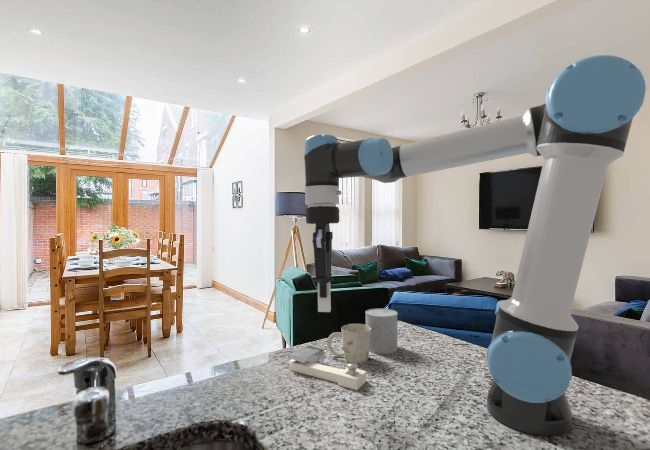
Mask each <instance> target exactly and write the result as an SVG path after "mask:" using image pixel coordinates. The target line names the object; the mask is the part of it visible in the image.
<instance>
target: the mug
mask: <svg viewBox="0 0 650 450" xmlns="http://www.w3.org/2000/svg"><path fill="white" fill-rule="evenodd" d="M340 330H341V332H339V331H337V332H335V331H334V332H331V334H329V336H328V338H327V339H326V340H327V341H326V346H327V349H328V351H329V352H330V353H331V354H332V355H334V356H336V357H344V360H345V361H346V362H347V363H349V362H355V363H357V364H361V363H366V362H368V361H369V354H370V352H369V347H370V338H371V327H370V326H368V325H366V324H363V323H348V324H345V325H343V326H341V329H340ZM335 338H342V339H341V340H342V347H343V352H336V351H335V350H334V348H333V346H332V342H333V340H334V339H335Z"/></svg>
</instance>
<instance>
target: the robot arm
mask: <svg viewBox="0 0 650 450" xmlns="http://www.w3.org/2000/svg"><path fill="white" fill-rule="evenodd" d="M646 87H647V86H646V80H645V77H644V76H643V73H642V72H641V70H640V68H638V67H637V66H636V65H635V64H634V63H632V62H631V61H629V60H627V59H626V58H623V57H620V56H617V55H609V54H606V55H605V54H604V55H601V54H599V55H591V56H589V57H585V58H582V59H580V60H577V61H575V62H573V63H571V64H570V65H568V66H567V67H565V68H564V69H563V70H562V71H561V72H560V73H559V74H557V75H556V77H555V78H554V80H553V81H552V82H551V85H550V86H549V87H548V90H547V92H546V94H545V95H546V96H545V103H543V104H540V105H537V106H532V107H529V108H527V109H526V110H525V112H524V113H523V114H522V115H518V116H515V117H514V116H513V117H510V118H507V119H502V120H499V121H494V122H489V123H486V124H482V125H478V126H473V127H470V128H466V129H462V130H458V131H453V132H448V133H446V134H441V135H437V136H433V137H429V138H425V139H421V140H417V141H413V142H409V143H405V144H401V145H398V146H397V145H395V146H393V147H392V145H391V144H390V141H389V140H388V138H385V137H379V138H378V137H376V138H373V137H370V138H366V139H359V140H353V141H345V142H339V140H338V137H336V136H334V135H332V134H314V135H311V136H309V137H307V138H306V139H305V142H304V156H303V160H304V174H305V175H304V177H305V185H304V186H305V187H304V193H305V194H304V195H305V196H304V198H305V199H304V200H305V201H304V203H305V205H306V206H307V207H306V208H305V223H306V224H308V225H315V229H314V232H313V233H312V245H313V246H312V247H313V256H314V259H313V260H314V270H315V271H314V272H315V274H314V275H315V277H314V278H315V279H313V283H315V284H316V285H317V312H318V313H331V311H332V306H331V305H332V304H331V303H332V301H331V299H332V298H331V295H332V294H331V282H334V277H332V250H333V245H332V244H333V238H334V237H333V231H331V229H330V224H339V223H340V208H339V206H337V205H338V204H339V203H340V201H339V200H340V199H339V198H340V197H339V196H341V195H342V191H341V190H339V189H340V188H339V182H340V180H339V179H345V178H359V177H360V178H365V179H370V180H375V181H378V182H380V183H385V184H388V183H395V182H397V181H399V180H400V179H404V178H407V177H413V176H416V175H422V174H423V175H424V174H428V173H432V172H437V171H438V172H439V171H443V170H447V169H452V168H453V169H454V168H457V167H463V166H467V165H468V166H469V165H473V164H479V163H484V162H488V161H489V162H490V161H495V160H499V159H503V158H509V157H515V156H520V155H524V154H530V155H532V156H533V157H540V156H541V157H542V158H543V164H542V167H541V170H540V176H539V180H538V184H537V189H536V192H535V198H534V200H533V201H534V202H533V205H532V209H531V215H530V219H529V222H528V227H527V231H526V235H525V240H524V244H523V248H522V253H521V257H520V260H519V265H518V269H517V274H516V277H515V282H514V287H513V290H512V294H511V297H509V298H508V299H504V300H503V299H502V300H499V301H498V302H497V303H496V307H495V308H496V310H495V311H494V314H495V317H496V318H495V324H494V329H493V332H492V337H491V341H490V344H489V345H488V347H487V350H486V361H487V368H488V371H489V374H490V375H491V378H492V381H491V384H490V387H489V390H488V392H487V395H486V409H487V411H488V413H489V414H490V415H491V416H492V418H494V419H495V420H497V421H498V422H499V423H501V424H503V425H505V426H507V427H509V428H511V429H514V430H517V431H519V432H522V433H527V434H530V435H537V436H545V437H546V436H551V437H553V436H554V437H555V436H561V435H564V434H567V433H569V432H570V431H571V430H572V428H573V413H572V410H571V409H572V408H571V406H570V404H569V400H568V398H567V395H566V391H567V390H568V388H569V385H570V384H571V381H572V376H573V372H572V365H571V358H572V354H573V351H574V345H575V342H576V338H577V334H578V331H579V325H578V323H577V322H576V321H575V319H574V318H573V316H572V314H571V311H572V307H573V302H574V299H575V295H576V292H577V288H578V283H579V279H580V275H581V273H582V268H583V264H584V260H585V257H586V252H587V249H588V245H589V240H590V236H591V232H592V229H593V225H594V220H595V218H596V217H595V216H596V213H597V211H598V210H597V209H598V205H599V202H600V197H601V193H602V191H603V187H604V186H603V185H604V183H605V178H606V174H607V170H608V166H609V165H610V164H612V163H613V162H615V161H617V160H619V159H620V158H621V157H623V156H624V154H625V149H626V146H627V143H628V138H629V134H630V131H631V127H632V123H633V120H634V118H635V116H636V115H637V114H638V112H639V111H640V109H641V108H642V106H643V105H644V101H645V97H646V96H645V95H646V90H647V89H646Z"/></svg>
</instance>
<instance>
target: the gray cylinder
mask: <svg viewBox="0 0 650 450" xmlns="http://www.w3.org/2000/svg"><path fill="white" fill-rule="evenodd" d="M364 313H365V325H368V326H370V327H371V338H370V347H369V353H372V354H377V355H390V354H394V353H396V352H398V315H399V313H398V311H396V310H393V309H390V308H380V307H379V308H370V309H367V310H365V312H364Z"/></svg>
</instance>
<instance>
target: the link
mask: <svg viewBox="0 0 650 450" xmlns="http://www.w3.org/2000/svg"><path fill="white" fill-rule="evenodd" d="M289 370H290V371H293V372H295V373H300V374H304V375H308V376H311V377H315V378H318V379H322V380H326V381H330V382H334V383H337V386H340V387H344V388H347V389H352V390H354V391H357V390H359V389H360V388H361V387H363V385H364V384H366V383H367V371H366V370H363V369H359V368H356V375H355V376H352V375H348V368H347V367H346V368H344V369H341V368H338V367H337V368H336V367H334V366H329V365H325V364H318V363H314V362H309V361H306V362H304V363H303V362H300V361H296V360H293V359H290V360H289Z"/></svg>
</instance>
